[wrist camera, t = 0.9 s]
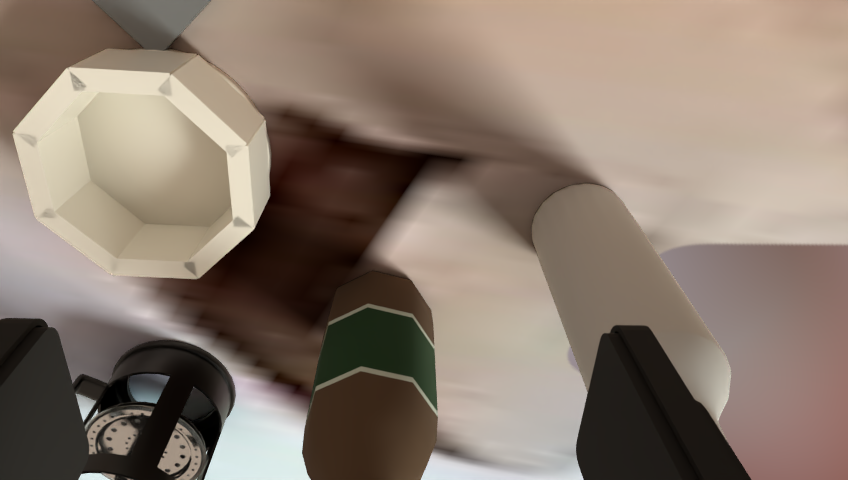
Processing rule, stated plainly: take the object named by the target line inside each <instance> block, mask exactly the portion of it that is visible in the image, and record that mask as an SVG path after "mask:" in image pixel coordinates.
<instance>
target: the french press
mask: <svg viewBox="0 0 848 480" xmlns="http://www.w3.org/2000/svg"><path fill="white" fill-rule="evenodd" d="M138 374H161V375H166V376H170V378H169V380H168V382H167V384H166V386H165V388H164V390H163V392H162V394H161V396H160V398H159V400H158V402H157V404H155V403H148V402H136V401H135V400H134V398H133V396H132V394H131V392H130V388H129V378H130V376H132V375H138ZM193 387H195V388H197V389H198V390H200V391H201V392H202V393H203V394H204V395H205V396H206V397H207V398H208V399H209V400H210V401H211V403H212V404H213V406H214V407H215V408H214V409H213V411H212V412H211V413H210V414H208V415H207V416H206V417H203V418H201V419H199V420H196V421H192V422H191V421H190V420H188V419H187V418H186V417H185V416H183V415H182V414H181V413H182V411H183V409H184V407H185V405H186V402H187V400H188V398H189V396H190V393H191V391H192V389H193ZM73 388H74V391H75V394H80V395H83V396H85V397H88V398H91V399H93V400H96V403H95V404H94V406H93V408H92V409H91V411H90V412H89V414H88V416H87V417H86V419H85V420H84V422H83V423H84V427H85V431H86V434H87V438H88V441H89V456H88V460H87V463H86V465H85V468H84V469H83V471H82V473H81V474H84V473H101V474H102V475H104V476H105V477H107V478H108V479H110V480H195V479H197V480H204V478H205V475H206V473H207V470H208V467H209V464H210V462H211V459H212V456H213V453H214V450H215V448H216V445H217V442H218V439H219V437H220V434H221V431H222V428H223V425H224V423H225V420H226V418H227V417H228V416H229V415H230V413H231V411H232V408H233V406H234V403H235V397H236V394H235V385H234V382H233V380H232V377H231V375H230V374H229V372H228V371H227V369H226V368H225V367H224V366H223V365H222V363H221V362H220V361H219V360H217V359H216V358H215V357H213V356H212V355H211V354H209V353H208V352H206V351H204V350H202V349H200V348H198V347H195V346H192V345H190V344H187V343H182V342H177V341H165V340H160V341H151V342H147V343H144V344H140V345H138V346H136V347H134V348H132V349H130V350H129V351H128V352H126V353H125V354H124V355H123V356H122V357H121V358H120V360H119V361H118V362H117V364H116V365H115V367H114V370H113V373H112V378H111V379H110V381H109V382H108V384H107V383H105V382H102V381H100V380H97V379H95V378H93V377H90V376H88V375H84V374H82V375H80V376H79V377H78V378H77V379H76V380H75V382H74V383H73ZM97 408H98V414H97V415H96V416H95V417H93V418H92V416H93V415H94V413H95V412H96V410H97ZM91 418H92V419H91ZM206 451H207V454H206ZM197 477H198V478H197Z"/></svg>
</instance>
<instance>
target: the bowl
mask: <svg viewBox="0 0 848 480" xmlns="http://www.w3.org/2000/svg"><path fill="white" fill-rule="evenodd" d="M13 132H14V133H12V134H13V138H14V141H15V145H16V149H17V153H18V156H19V160H20V164H21V168H22V171H23V175H24V179H25V182H26V186H27V190H28V194H29V197H30V201H31V205H32V209H33V212H34V216H35V217H36V218H37V219H36V220H38V221H39V222H41V223H42V224H43V225H45V226H46V227H47V228H49V229H50V230H51V231H53V232H54V233H55V234H57V235H58V236H59V237H61V238H62V239H63V240H65V241H66V242H67V243H69V244H70V245H71V246H73V247H74V248H75V249H77V250H78V251H79V252H81V253H82V254H84V255H85V256H86V257H88V258H89V259H90V260H92V261H93V262H94V263H96V264H97V265H98V266H100V267H101V268H102V269H104V270H105V271H106V272H108V273H109V274H110V275H111V274H112V275H115V276H138V277H161V278H184V279H197V278H200V277H201V276H202V275H203V274H204V273H206V272H207V271H208V270H209V269H210V268H211V267H212V266H213V265H215V264H216V263H217V262H218V261H219V260H220V259H221V258H222V257H224V256H225V255H226V254H227V253H228V252H229V251H230V250H231V249H233V248H234V247H235V246H236V245H237V244H238V243H239V242H240V241H242V240H243V239H244V238H245V237H246V236H247V235H248V234H249V233H251V232H252V231H253V230H254V228H255V226H256V224H257V222H258V220H259V218H260V216H261V214H262V212H263V210H264V207H265V205H266V203H267V201H268V199H269V197H270V183H269V175H270V168H271V148H270V140H269V137H268V133H267V129H266V120H264V117H263V116H262V115H261V114H260V113H259V111H258V110H257V108H256V106H255V104H254V103H253V102H252V100H251V99H250V98H249V96H248V95H247V93H246V92H245V91H244V90H243V89H242V88H241V87H240V86H239V85H238V84H237V83H236V82H235V81H234V80H233V79H232V78H231V77H229V76H228V75H227V74H226V73H224V72H223V71H222V70H220V69H219V68H217V67H216V66H214V65H213V64H211V63H209V62H207V61H205V60H204V59H202V58H201V57H200V56H199V55H196V54H192V53H185V52H181V51H177V50H173V49H166V50H164V51H161V50H145V49H144V48H138V49H131V50H124V49H105V50H103V51H101V52H99V53H97V54H95V55H92V56H90V57H88V58H86V59H84V60H82V61H80V62H78V63H76V64H74V65H72V66H70V67H68V68H66V69H65V71H64V72H63V73H62V74H61V75H60V76H59V78H58V79H57V80H56V81H55V82H54V84H53V85H52V86H51V87H50V88H49V89H48V91H47V92H46V93H45V94H44V95H43V96H42V98H41V99H40V100H39V101H38V102H37V103H36V105H35V106H34V107H33V108H32V109H31V111H30V112H29V113H28V114H27V115H26V116H25V118H24V119H23V120H22V121H21V122H20V123H19V125H18V126H17V127H16V128H15V129H14V130H13Z"/></svg>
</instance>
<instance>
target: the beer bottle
mask: <svg viewBox="0 0 848 480" xmlns="http://www.w3.org/2000/svg"><path fill="white" fill-rule="evenodd" d="M437 420H438V413H437V392H436V372H435V352H434V331H433V320H432V313H431V310H430V308H429V307H428V305H427V304H426V302H425V300H424V299H423V297H422V296H421V294H420V293H419V291H418V290H417V288H416V287H415V285H414V284H413V282H412V281H411V280H409V279H404V278H400V277H396V276H392V275H388V274H384V273H380V272H375V271H371V272H369V273H367V274H365V275H363V276H361V277H359V278H357V279H355V280H353V281H350V282H348V283H346V284H344V285H342V286H340V287H338V288H337V289H336V293H335V296H334V300H333V303H332V307H331V310H330V314H329V318H328V321H327V325H326V329H325V332H324V336H323V341H322V346H321V351H320V356H319V361H318V366H317V371H316V376H315V380H314V385H313V390H312V395H311V400H310V405H309V410H308V415H307V420H306V425H305V430H304V440H303V450H302V454H303V458H304V462H305V466H306V470H307V473H308V476H309V477H310V479H311V480H421V477H422V475H423V473H424V470H425V468H426V466H427V463H428V461H429V458H430V456H431V453H432V451H433V448H434V446H435V443H436V438H437Z"/></svg>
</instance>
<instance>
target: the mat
mask: <svg viewBox="0 0 848 480" xmlns="http://www.w3.org/2000/svg"><path fill="white" fill-rule="evenodd" d="M92 1H93V2H95V3H96V4H97V5H98V6H99V7H100V8H101V9H102V10H103V11H104V12H105V13H106V14H108V15H109V16H110V17H111V18H112V19H113V20H114V21H115V22H116V23H117V24H118V25H119V26H120V27H122V28H123V29H124V30H125V31H126V32H127V33H128V34H129V35H130V36H131V37H132V38H133V39H135V40H136V41H137V42H138V43H139V44H140V45H141V46H142V47H143V48H144V49H145V50H161V51H164V50H166V49H167V48H168V47H169V46H170V45H171V44H172V43H173V42H174V41H175V40H176V38H177V37H178V36H179V35H180V34H181V33H182V32H183V31H184V30H185V29H186V27H187V26H188V25H189V24H190V23H191V22H192V21H193V20H194V19H195V18H196V16H197V15H198V14H199V13H200V12H201V11H202V10H203V9H204V8H205V7H206V6H207V4H208V3H209V2H210V1H211V0H92Z"/></svg>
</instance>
